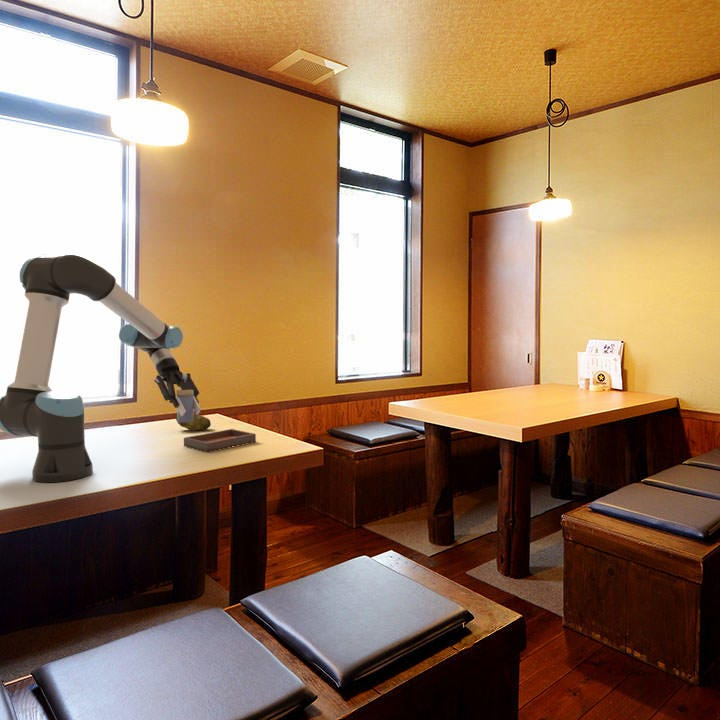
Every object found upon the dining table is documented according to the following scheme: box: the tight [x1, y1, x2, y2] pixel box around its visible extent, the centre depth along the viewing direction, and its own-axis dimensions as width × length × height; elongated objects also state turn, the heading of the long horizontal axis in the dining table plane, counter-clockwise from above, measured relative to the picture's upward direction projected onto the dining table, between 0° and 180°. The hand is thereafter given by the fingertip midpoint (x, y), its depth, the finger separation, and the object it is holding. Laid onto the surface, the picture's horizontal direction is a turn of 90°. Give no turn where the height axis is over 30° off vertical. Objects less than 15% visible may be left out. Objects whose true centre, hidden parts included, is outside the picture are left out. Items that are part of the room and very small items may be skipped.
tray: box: [183, 428, 257, 453], centre depth 199 cm, size 20×14×3 cm
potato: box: [175, 411, 212, 432], centre depth 225 cm, size 8×13×8 cm, turn 74°
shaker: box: [175, 389, 195, 423], centre depth 202 cm, size 6×6×11 cm
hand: (191, 412), depth 200 cm, fingers closed on shaker, 5 cm apart
